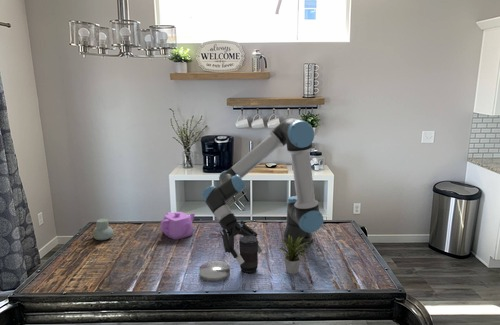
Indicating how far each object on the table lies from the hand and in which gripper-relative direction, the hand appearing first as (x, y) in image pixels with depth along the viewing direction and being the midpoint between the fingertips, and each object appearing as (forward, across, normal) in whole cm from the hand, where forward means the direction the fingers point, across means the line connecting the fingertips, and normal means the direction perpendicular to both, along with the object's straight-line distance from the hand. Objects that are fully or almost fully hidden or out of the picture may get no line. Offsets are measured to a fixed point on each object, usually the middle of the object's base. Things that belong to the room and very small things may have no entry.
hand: (252, 257), depth 163 cm
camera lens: (+4, 0, -6) cm, 7 cm away
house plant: (+15, -10, +5) cm, 19 cm away
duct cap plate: (-3, +11, -13) cm, 17 cm away
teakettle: (-35, -10, -46) cm, 58 cm away
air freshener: (-55, +19, -65) cm, 87 cm away
